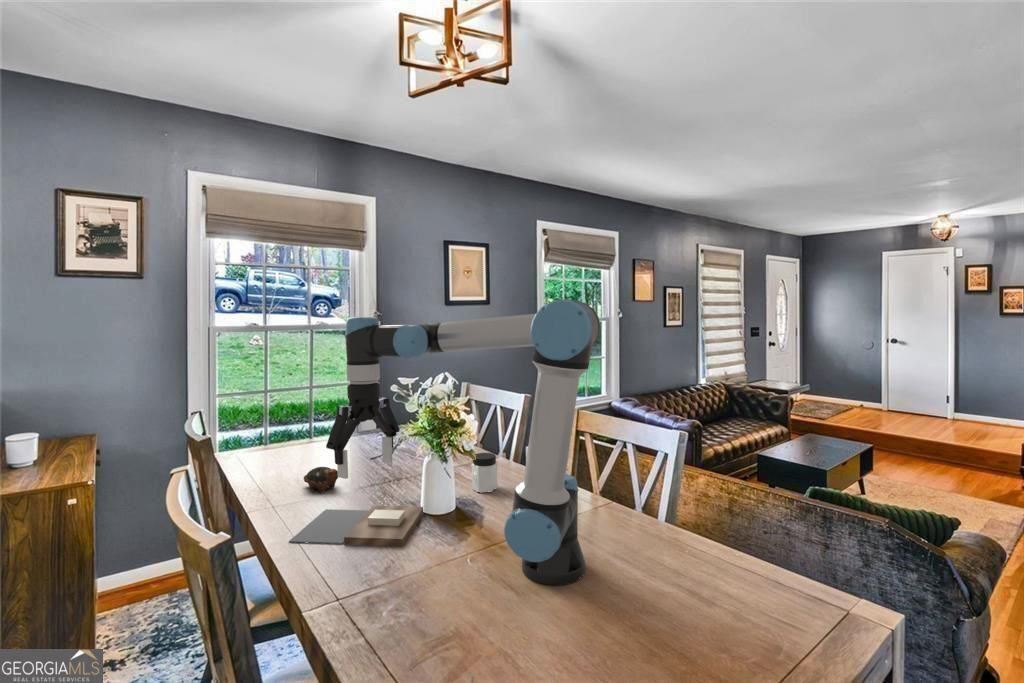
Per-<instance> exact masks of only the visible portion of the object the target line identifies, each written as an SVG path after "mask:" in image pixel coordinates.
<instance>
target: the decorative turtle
mask: <svg viewBox="0 0 1024 683" xmlns="http://www.w3.org/2000/svg"><path fill="white" fill-rule="evenodd" d="M338 478H339V477H338V470H337V469H336V468H331V467H328V466H318V467H315V468H312V469H310V470H309V471H308V472H307V473H306V475H304V476H303V481H304V483H307V485H308V487H309V490H310V491H312V490H314V491H316V490H317V489H318V492H320V493H321V492H323V491H324V492H325V491H326V490H327V489H328V487H329V488H330V487H333V488H334V487H335V486H336V482H337V480H338ZM315 489H316V490H315ZM324 492H323V493H324Z"/></svg>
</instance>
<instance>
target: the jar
mask: <svg viewBox="0 0 1024 683" xmlns="http://www.w3.org/2000/svg"><path fill="white" fill-rule="evenodd" d="M474 455H476V460H473V459H472V463H471V489H472V488H473V489H474V490H476V491H478V492H488V491H493V490H494V489H495V488H497V489H498V463H497V457H496V454H495V453H493V452H492V453H491V452H479V453H478V452H477V453H474ZM474 490H473V491H474ZM493 492H494V491H493Z"/></svg>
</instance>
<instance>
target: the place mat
mask: <svg viewBox="0 0 1024 683" xmlns="http://www.w3.org/2000/svg"><path fill="white" fill-rule="evenodd" d="M369 510H370V509H369ZM369 510H365V509H359V510H358V509H330V508H329V509H326V508H325V509H324V510H323V511H322V512H321V513H320V514H318V515H317V516H316V517H315V518H314V519H313V520H311V521H310V522H309V523H308V524H307V525H305V526H304V527H303V528H302V529H301V530H300V531H299V532H297V534H295V535H294V536H293V537H292V538H291V539H289V541H288V543H289V542H308V543H307V544H316V543H336V544H335V545H344V537H345V536H346V534H347V533H348V532H349V531H350V530H351V529H352V528H353V527H354V526H355V525H356V524H357V523H358V522H359V521H360V519H361V518H362V517H363V516H364V515H365V514H366V513H367V512H368V511H369Z"/></svg>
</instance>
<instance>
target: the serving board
mask: <svg viewBox="0 0 1024 683" xmlns="http://www.w3.org/2000/svg"><path fill="white" fill-rule="evenodd" d="M423 507H424V506H407V505H406V506H402V505H401V506H400V505H372V506H371V508H370V509H369V511H368V512H367V513H366V514H365V515H364V516H363V517H362V518H361V519H360V521H359V522H358V523H357V524H356V525H355V526H354V527H353V528H352V529H351V530H350V531H349V532H348V533H347V534H346V536H345V537H344V543H343V545H347V544H353V545H354V546H377V547H378V546H381V547H384V546H385V547H403V546H404V545H405V543H406V541H407V540H408V538H409V536H411V534H412V532H413V531H414V529H415V528H416V526H417V524H418V523H419V521H420V520H421V518H422V517H423V515H424V514H423ZM374 510H405V518H404V519H403V521H402V522H401V523H400V525H399V526H389V525H368V517H369V516H370V515H371V514H372V513H373V511H374Z"/></svg>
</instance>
